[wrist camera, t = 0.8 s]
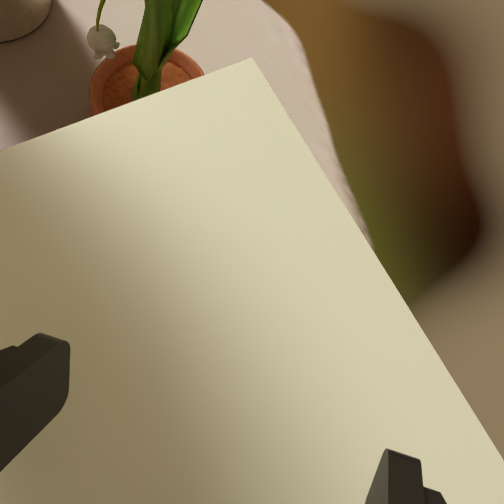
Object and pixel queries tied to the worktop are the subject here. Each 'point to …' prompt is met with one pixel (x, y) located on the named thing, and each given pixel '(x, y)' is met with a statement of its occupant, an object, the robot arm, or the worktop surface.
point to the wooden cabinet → (216, 316)
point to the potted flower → (143, 56)
